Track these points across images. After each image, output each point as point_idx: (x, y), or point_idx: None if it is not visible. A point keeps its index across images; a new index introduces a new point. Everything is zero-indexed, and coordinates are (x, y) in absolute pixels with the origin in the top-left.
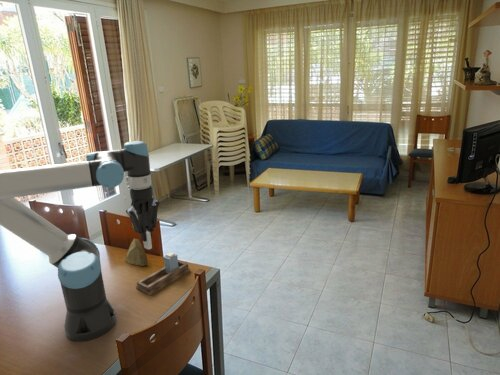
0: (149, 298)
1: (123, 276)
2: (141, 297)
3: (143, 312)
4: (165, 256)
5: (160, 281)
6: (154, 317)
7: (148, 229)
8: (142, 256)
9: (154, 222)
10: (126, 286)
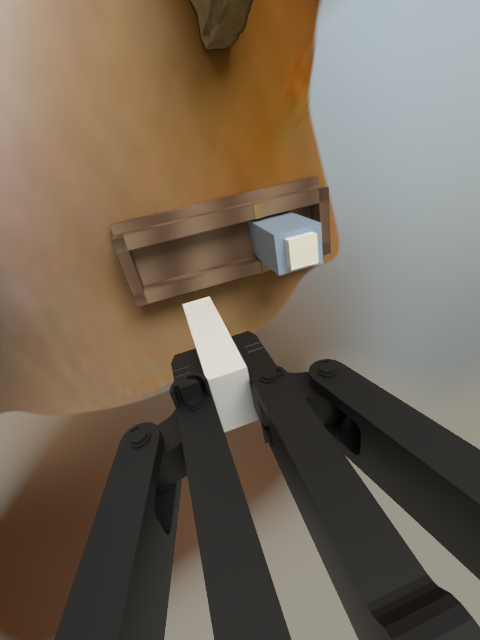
0: (132, 316)
1: (82, 58)
2: (109, 294)
3: (90, 369)
4: (282, 237)
5: (197, 288)
6: (113, 402)
7: (261, 418)
8: (226, 9)
9: (354, 452)
10: (74, 175)
